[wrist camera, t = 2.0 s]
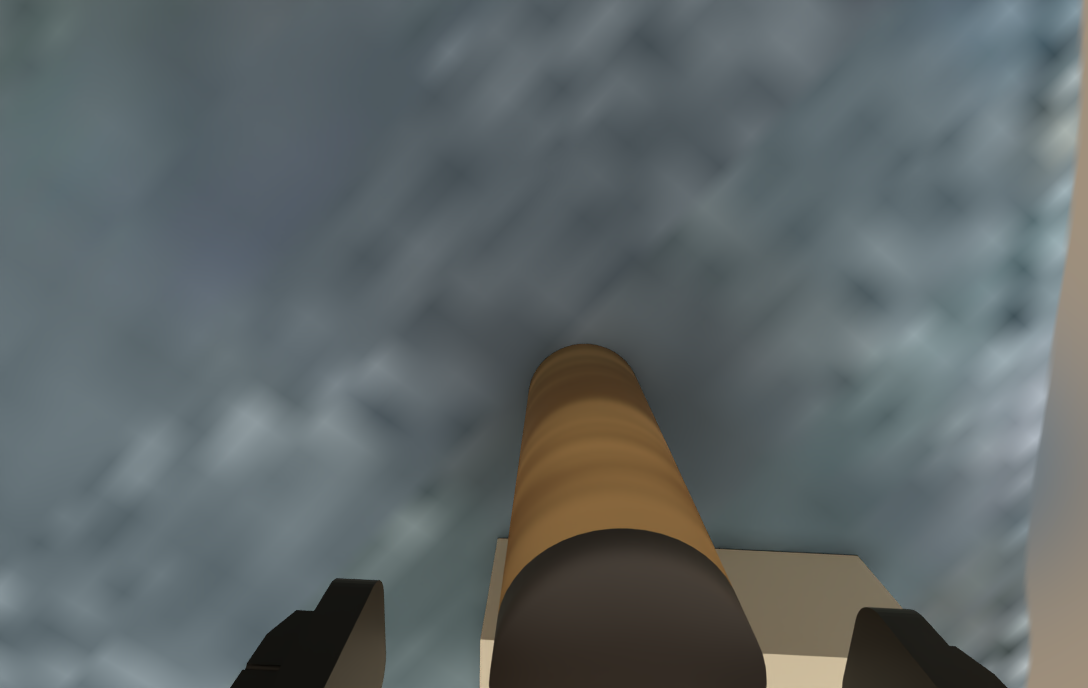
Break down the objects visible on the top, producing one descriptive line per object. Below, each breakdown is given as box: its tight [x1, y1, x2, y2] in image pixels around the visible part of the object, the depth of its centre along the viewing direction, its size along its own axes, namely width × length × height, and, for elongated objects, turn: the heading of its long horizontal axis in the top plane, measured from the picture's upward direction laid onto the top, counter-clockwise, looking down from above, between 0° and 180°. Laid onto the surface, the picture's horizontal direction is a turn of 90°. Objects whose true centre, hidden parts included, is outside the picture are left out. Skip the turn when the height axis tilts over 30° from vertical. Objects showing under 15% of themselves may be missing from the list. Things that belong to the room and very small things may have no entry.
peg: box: [489, 344, 767, 688], centre depth 14 cm, size 4×4×12 cm
